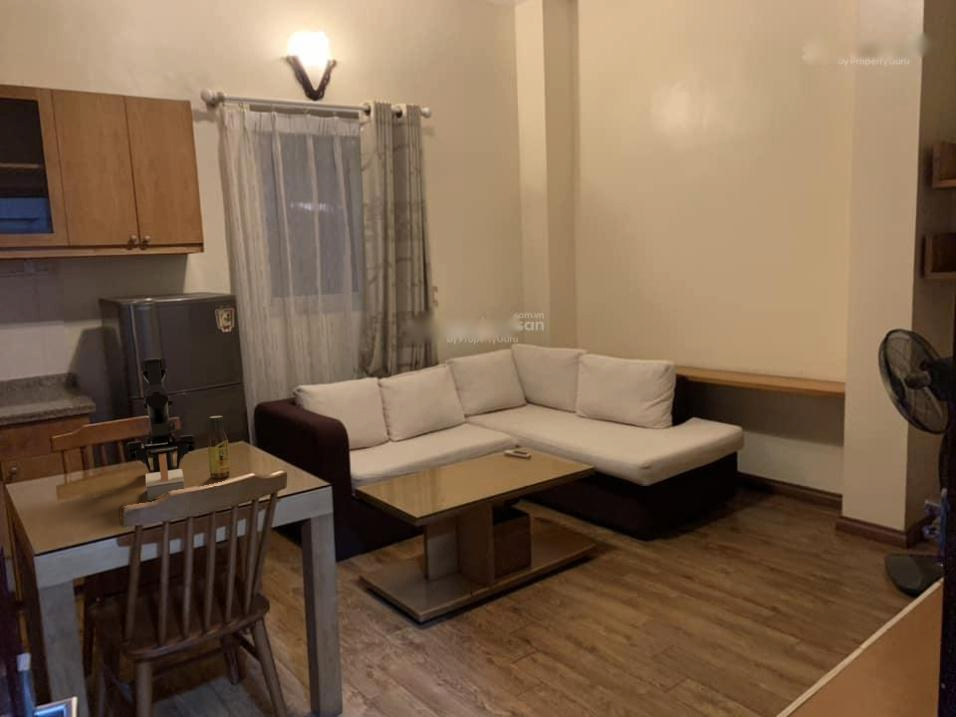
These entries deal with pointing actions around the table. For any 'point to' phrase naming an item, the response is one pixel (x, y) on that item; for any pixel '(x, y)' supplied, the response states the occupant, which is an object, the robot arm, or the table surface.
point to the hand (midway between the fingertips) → (164, 470)
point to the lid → (164, 474)
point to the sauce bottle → (218, 449)
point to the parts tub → (163, 489)
